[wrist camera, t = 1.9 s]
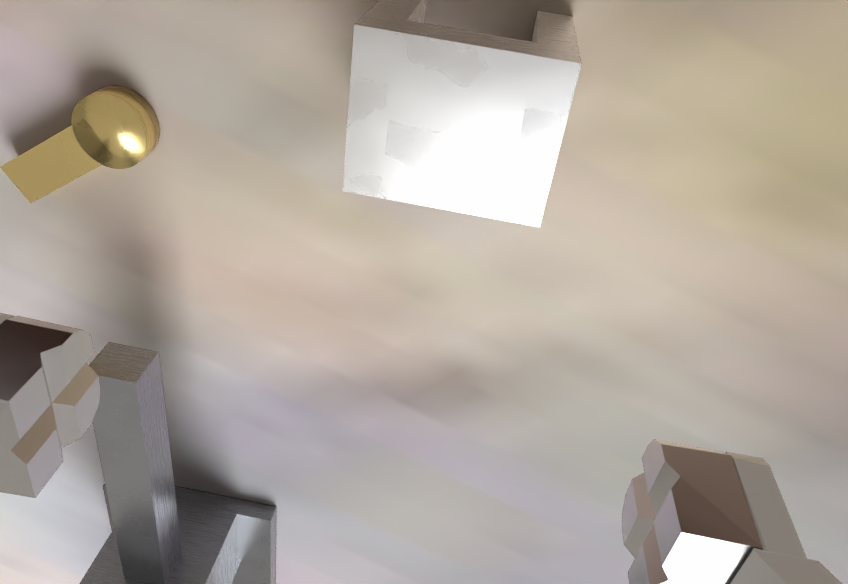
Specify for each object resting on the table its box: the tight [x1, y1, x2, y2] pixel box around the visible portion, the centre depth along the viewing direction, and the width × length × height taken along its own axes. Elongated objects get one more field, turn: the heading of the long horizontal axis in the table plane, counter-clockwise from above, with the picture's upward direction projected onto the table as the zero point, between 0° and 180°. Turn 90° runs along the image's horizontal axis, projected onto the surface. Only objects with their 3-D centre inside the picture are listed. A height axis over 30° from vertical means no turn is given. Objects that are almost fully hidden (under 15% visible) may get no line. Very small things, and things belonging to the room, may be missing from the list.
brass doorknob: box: [0, 86, 160, 203], centre depth 28 cm, size 7×3×1 cm, turn 118°
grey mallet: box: [80, 342, 276, 584], centre depth 34 cm, size 10×22×10 cm, turn 173°
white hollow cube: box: [343, 0, 582, 227], centre depth 22 cm, size 6×5×6 cm
